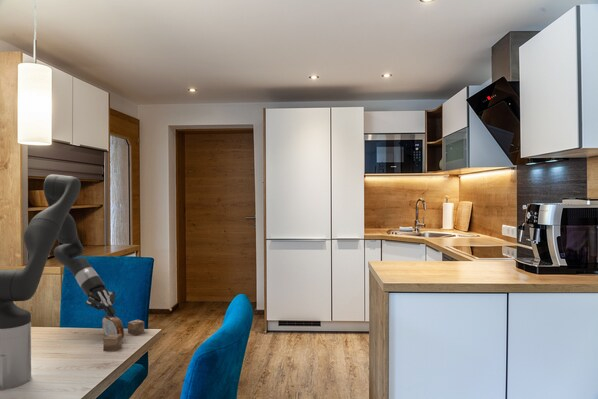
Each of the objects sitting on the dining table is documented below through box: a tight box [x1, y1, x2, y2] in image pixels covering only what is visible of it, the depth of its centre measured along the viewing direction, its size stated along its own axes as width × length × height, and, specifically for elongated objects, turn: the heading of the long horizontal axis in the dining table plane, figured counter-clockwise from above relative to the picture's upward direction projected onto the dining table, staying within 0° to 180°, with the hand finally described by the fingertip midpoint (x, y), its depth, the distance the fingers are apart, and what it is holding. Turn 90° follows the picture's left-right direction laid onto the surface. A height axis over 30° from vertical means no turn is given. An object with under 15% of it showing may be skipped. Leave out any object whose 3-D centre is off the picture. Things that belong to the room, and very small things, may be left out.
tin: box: [101, 314, 125, 340], centre depth 156 cm, size 15×3×8 cm, turn 47°
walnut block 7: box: [127, 319, 145, 336], centre depth 162 cm, size 4×4×5 cm
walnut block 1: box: [102, 334, 123, 352], centre depth 145 cm, size 4×4×5 cm
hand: (112, 315), depth 156 cm, fingers closed
